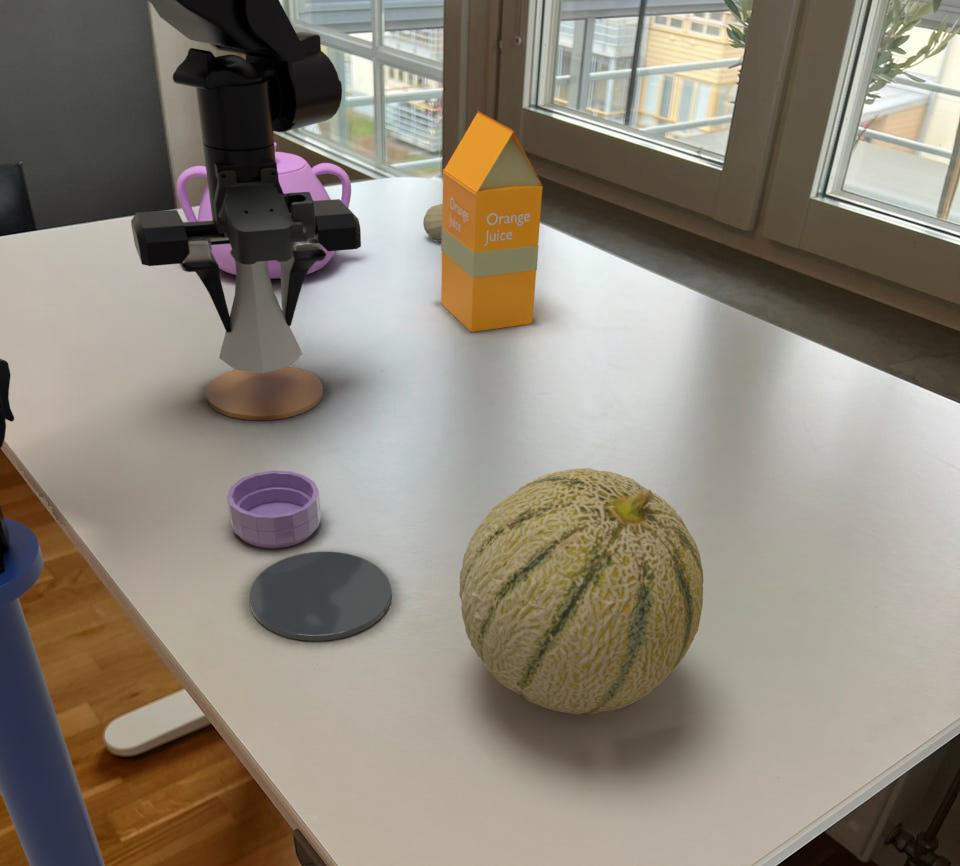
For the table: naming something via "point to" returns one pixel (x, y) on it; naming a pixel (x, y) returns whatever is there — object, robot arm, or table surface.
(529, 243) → the orange juice
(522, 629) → the cantaloupe
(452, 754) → the table surface
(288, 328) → the flask
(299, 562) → the slate coaster
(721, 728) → the table surface
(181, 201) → the teapot
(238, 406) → the cork coaster
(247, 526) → the dish
